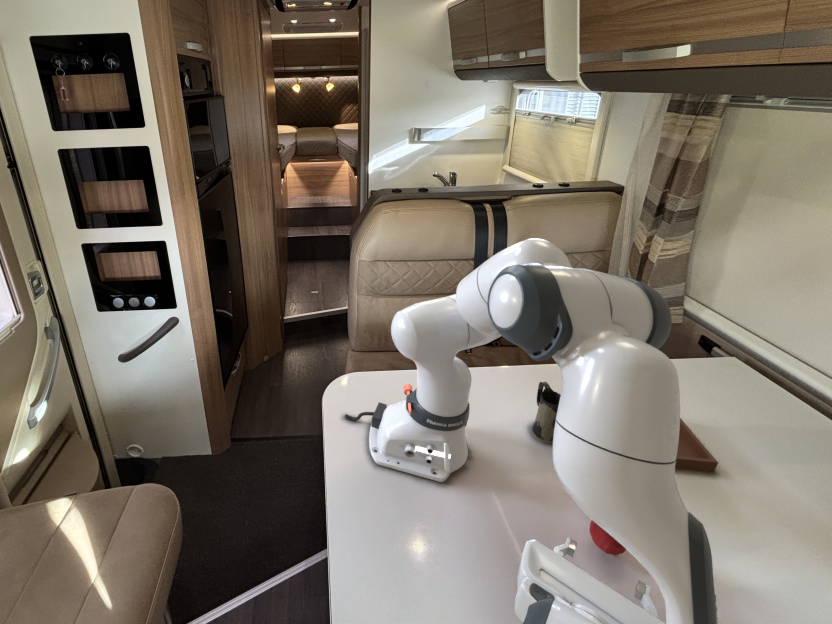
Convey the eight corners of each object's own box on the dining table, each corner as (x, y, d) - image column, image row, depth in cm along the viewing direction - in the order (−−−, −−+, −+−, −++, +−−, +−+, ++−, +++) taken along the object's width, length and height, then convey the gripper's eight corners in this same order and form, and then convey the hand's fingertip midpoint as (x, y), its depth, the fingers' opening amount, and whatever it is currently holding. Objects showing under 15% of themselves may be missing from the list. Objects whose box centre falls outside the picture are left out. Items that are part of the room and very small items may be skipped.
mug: (562, 443, 99) (573, 403, 95) (539, 444, 99) (549, 404, 94) (544, 417, 106) (553, 379, 102) (522, 418, 106) (531, 380, 102)
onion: (628, 568, 74) (641, 538, 71) (592, 561, 76) (603, 531, 73) (614, 534, 80) (625, 505, 77) (580, 528, 81) (590, 499, 78)
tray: (625, 463, 94) (629, 453, 93) (595, 414, 107) (598, 404, 106) (713, 472, 92) (718, 462, 91) (671, 421, 105) (675, 411, 104)
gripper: (694, 710, 48) (701, 603, 57) (509, 576, 61) (539, 507, 70) (677, 737, 50) (686, 630, 60) (502, 603, 63) (533, 533, 72)
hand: (605, 563), depth 65 cm, fingers open, 8 cm apart
